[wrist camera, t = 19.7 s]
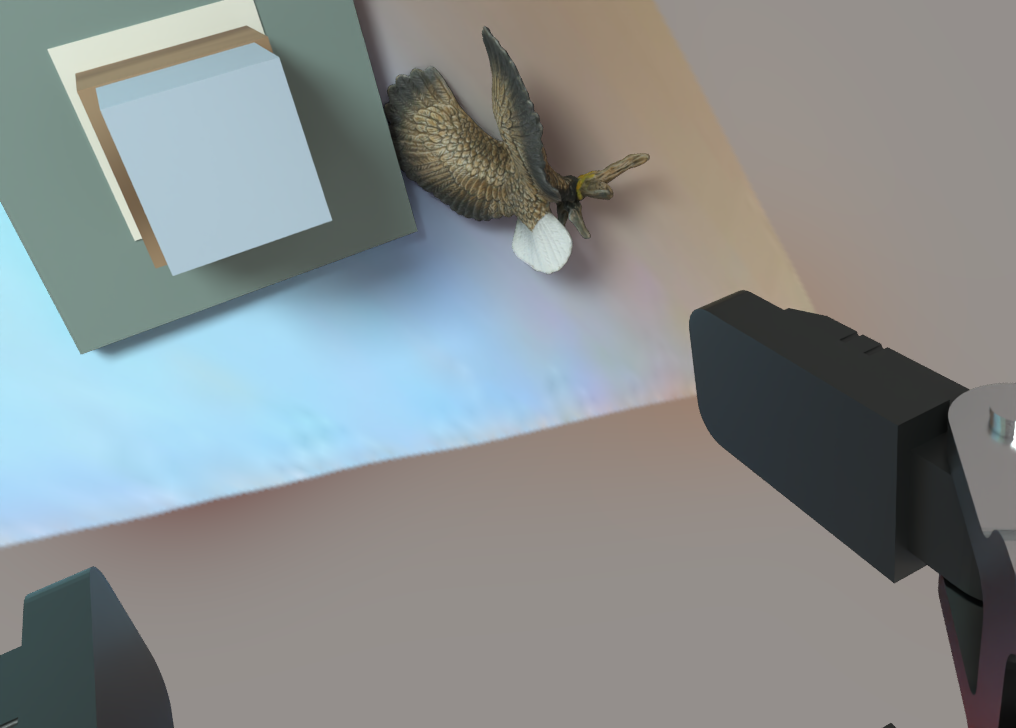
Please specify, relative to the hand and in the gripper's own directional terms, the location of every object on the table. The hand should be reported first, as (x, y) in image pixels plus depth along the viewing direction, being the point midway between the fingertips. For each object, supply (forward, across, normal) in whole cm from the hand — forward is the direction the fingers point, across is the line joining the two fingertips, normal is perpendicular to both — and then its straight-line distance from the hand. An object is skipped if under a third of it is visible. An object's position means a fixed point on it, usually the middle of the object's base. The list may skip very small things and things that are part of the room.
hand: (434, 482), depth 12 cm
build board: (+27, 0, 0) cm, 27 cm away
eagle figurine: (+27, -11, +5) cm, 30 cm away
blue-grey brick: (+22, 0, 0) cm, 22 cm away
